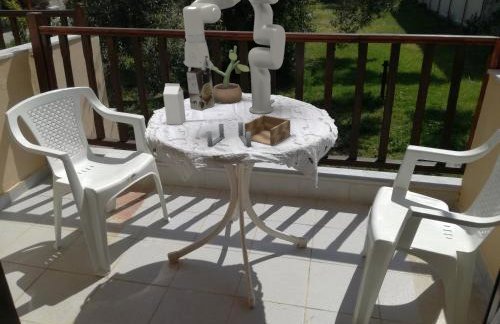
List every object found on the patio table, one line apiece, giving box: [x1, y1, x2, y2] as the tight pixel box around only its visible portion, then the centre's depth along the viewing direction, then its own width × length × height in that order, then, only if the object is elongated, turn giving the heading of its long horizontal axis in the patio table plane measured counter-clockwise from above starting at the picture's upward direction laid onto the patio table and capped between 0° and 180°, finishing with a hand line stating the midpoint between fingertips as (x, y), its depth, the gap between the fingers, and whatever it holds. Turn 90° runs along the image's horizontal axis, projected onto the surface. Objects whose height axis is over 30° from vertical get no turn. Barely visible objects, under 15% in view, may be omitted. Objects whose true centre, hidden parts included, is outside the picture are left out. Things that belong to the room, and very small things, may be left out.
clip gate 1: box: [206, 123, 225, 148], centre depth 179 cm, size 12×2×6 cm, turn 155°
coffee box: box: [186, 68, 215, 112], centre depth 180 cm, size 9×6×16 cm
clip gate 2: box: [237, 121, 252, 148], centre depth 179 cm, size 2×14×6 cm, turn 17°
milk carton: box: [162, 83, 187, 126], centre depth 201 cm, size 7×7×19 cm
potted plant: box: [211, 45, 251, 104], centre depth 229 cm, size 22×18×30 cm
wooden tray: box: [243, 114, 291, 147], centre depth 181 cm, size 14×14×7 cm
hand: (200, 81), depth 179 cm, fingers closed on coffee box, 6 cm apart
